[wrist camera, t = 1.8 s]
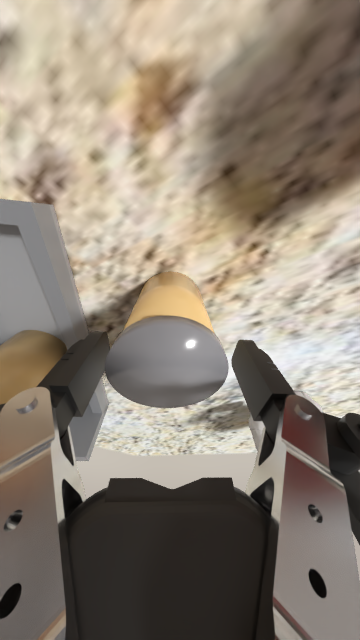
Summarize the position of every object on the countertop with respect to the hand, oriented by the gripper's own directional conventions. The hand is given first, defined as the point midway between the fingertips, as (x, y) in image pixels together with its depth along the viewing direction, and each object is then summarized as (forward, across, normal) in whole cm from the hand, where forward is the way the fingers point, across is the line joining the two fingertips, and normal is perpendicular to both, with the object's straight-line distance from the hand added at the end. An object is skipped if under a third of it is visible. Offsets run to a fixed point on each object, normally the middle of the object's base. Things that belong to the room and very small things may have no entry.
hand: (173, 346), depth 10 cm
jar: (+6, 0, 0) cm, 6 cm away
